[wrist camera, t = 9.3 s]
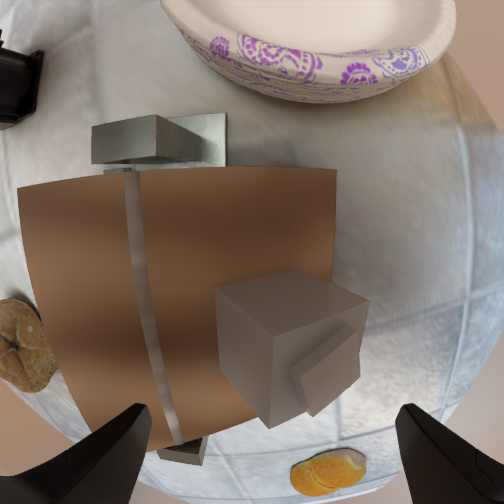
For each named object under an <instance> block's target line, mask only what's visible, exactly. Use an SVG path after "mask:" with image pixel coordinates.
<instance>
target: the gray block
mask: <svg viewBox="0 0 504 504" xmlns="http://www.w3.org/2000/svg"><path fill="white" fill-rule="evenodd" d="M214 287H215V305H216V321H217V335H218V349H219V362H220V370H221V371H222V372H223V374H224V375H225V376H226V378H227V379H228V380H229V381H230V383H231V384H232V385H233V387H234V388H235V389H236V390H237V392H238V393H239V394H240V395H241V397H242V398H243V399H244V400H245V402H246V403H247V404H248V405H249V406H250V408H251V409H252V410H253V411H254V412H255V414H256V415H257V416H258V417H259V418H260V420H261V421H262V422H263V423H264V424H265V425H266V427H267V428H268V429H271V428H273V427H275V426H277V425H280V424H282V423H284V422H286V421H288V420H290V419H292V418H294V417H296V416H298V415H300V414H302V413H304V412H307V413H308V414H309V415H311V416H312V417H314V416H315V415H316V414H317V413H319V412H320V411H321V410H322V409H324V408H325V407H326V406H327V405H329V404H330V403H331V402H332V401H333V400H335V399H336V398H337V397H338V396H339V395H340V394H342V393H343V392H344V391H345V390H346V389H347V388H349V387H351V385H352V384H353V383H354V382H355V381H356V380H357V379H358V378H359V377H360V361H359V351H360V347H361V342H362V337H363V333H364V328H365V322H366V317H367V312H368V306H369V300H367V299H365V298H363V297H361V296H358V295H356V294H354V293H352V292H350V291H347V290H345V289H343V288H341V287H339V286H336V285H334V284H332V283H330V282H327V281H325V280H323V279H321V278H319V277H316V276H314V275H312V274H310V273H307V272H305V271H303V270H301V269H295V270H291V271H286V272H281V273H277V274H272V275H267V276H262V277H258V278H253V279H248V280H243V281H238V282H233V283H228V284H223V285H218V286H214Z"/></svg>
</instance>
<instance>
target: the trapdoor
mask: <svg viewBox="0 0 504 504" xmlns="http://www.w3.org/2000/svg"><path fill="white" fill-rule="evenodd" d="M336 177H337V170H333V169H318V168H297V167H256V166H234V167H193V168H173V169H157V170H144V171H131V172H122V173H112V174H103V175H95V176H87V177H80V178H73V179H66V180H60V181H54V182H48V183H42V184H36V185H31V186H26V187H21V188H17V194H18V207H19V217H20V225H21V233H22V239H23V246H24V251H25V257H26V262H27V267H28V272H29V276H30V280H31V285H32V289H33V293H34V296H35V300H36V304H37V307H38V311H39V314H40V317H41V320H42V323H43V326H44V329H45V332H46V335H47V338H48V341H49V344H50V346H51V349H52V352H53V354H54V357H55V359H56V362H57V364H58V367H59V369H60V371H61V374H62V376H63V378H64V380H65V382H66V385H67V387H68V389H69V391H70V393H71V395H72V397H73V399H74V401H75V403H76V405H77V407H78V409H79V411H80V413H81V415H82V416H83V418H84V420H85V422H86V424H87V425H88V427H89V429H90V430H91V432H92V433H93V432H94V431H96V430H97V429H99V428H100V427H102V426H103V425H104V424H106V423H107V422H109V421H110V420H112V419H113V418H115V417H116V416H117V415H119V414H120V413H122V412H123V411H124V410H126V409H127V408H129V407H130V406H131V405H133V404H134V403H142V404H146V405H147V406H148V409H149V412H150V415H151V417H152V427H151V431H150V436H149V440H148V445H147V449H146V452H149V451H154V450H158V449H162V448H166V447H170V446H174V445H182V444H183V443H185V442H188V441H191V440H195V439H198V438H201V437H204V436H207V435H210V434H213V433H216V432H219V431H222V430H225V429H228V428H231V427H233V426H236V425H239V424H241V423H244V422H246V421H249V420H251V419H254V418H256V417H258V416H257V415H256V414H255V412H254V411H253V410H252V409H251V408H250V406H249V405H248V404H247V403H246V402H245V400H244V399H243V398H242V397H241V395H240V394H239V393H238V392H237V390H236V389H235V388H234V387H233V385H232V384H231V383H230V381H229V380H228V379H227V378H226V376H225V375H224V374H223V372H222V371H221V370H220V362H219V349H218V335H217V321H216V305H215V287H214V286H218V285H223V284H228V283H233V282H238V281H243V280H248V279H253V278H258V277H262V276H267V275H272V274H277V273H281V272H286V271H291V270H295V269H301V270H303V271H305V272H307V273H310V274H312V275H314V276H316V277H319V278H321V279H323V280H325V281H327V282H330V283H331V275H332V263H333V249H334V233H335V213H336Z"/></svg>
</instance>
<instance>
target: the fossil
mask: <svg viewBox="0 0 504 504" xmlns="http://www.w3.org/2000/svg"><path fill="white" fill-rule="evenodd" d="M57 369H58V364H57V362H56V359H55V357H54V354H53V352H52V349H51V346H50V344H49V341H48V338H47V335H46V332H45V329H44V326H43V323H42V322H41V321H40V319H39V318H38V316H37V314H36V313H35V311H34V310H33V309H32V308H31V307H29V306H28V304H26V303H25V302H22V301H20V300H16V299H13V298H8V299H3V300H0V377H1V378H2V379H4V380H6V381H8V382H10V383H12V384H13V385H14V386H15V387H16V388H17V389H19V390H20V391H22V392H26V393H36V392H39V391H41V390H43V389H44V388H45V387H46V386H47V385H48V383H49V381H50V379H51V377H52V376H53V375H54V373H55V372H56V370H57Z"/></svg>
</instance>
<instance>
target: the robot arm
mask: <svg viewBox="0 0 504 504" xmlns="http://www.w3.org/2000/svg"><path fill="white" fill-rule="evenodd" d="M1 33H2V30H1V29H0V38H1ZM3 43H4V41H2V40H0V130H4V129H6V128H8V127H11V126H13V125H15V124H16V123H17V122H18V120H20V119H23V118H25V117H27V116H29V115H31V114H33V112H34V111H35V105H36V96H37V88H38V81H39V75H40V69H41V64H42V59H43V54H44V52H43V51H42V50H38V51H36V52H34V53H33V54H31V55H29V56H27V55H24V54H21V53H18V52H15V51H12V50H8V49H5V48H2V47H1V46H2V44H3ZM30 108H31V109H30ZM395 426H396V431H397V437H398V443H399V449H400V455H401V460H402V464H403V467H404V471H405V474H406V478H407V482H408V486H409V490H410V494H411V498H412V502H413V504H504V465H503V464H501V463H499V462H497V461H496V460H494V459H492V458H490V457H489V456H487V455H486V454H484V453H483V452H481V451H480V450H478V449H476V448H475V447H474V446H472V445H471V444H469V443H468V442H467V441H465V440H464V439H462V438H461V437H460V436H458V435H457V434H455V433H454V432H453V431H451V430H450V429H448V428H447V427H446V426H444V425H443V424H441V423H440V422H439V421H437V420H436V419H434V418H433V417H432V416H430V415H429V414H428V413H426V412H425V411H423V410H422V409H421V408H419V407H418V406H417V405H415V404H414V403H409V404H404V405H403V406H402V407H401V409H400V411H399V413H398V415H397V417H396V420H395ZM151 427H152V417H151V415H150V412H149V409H148V406H147V405H146V404H142V403H134V404H133V405H131V406H130V407H129V408H127V409H126V410H124V411H123V412H122V413H120V414H119V415H117V416H116V417H115V418H113V419H112V420H110V421H109V422H107V423H106V424H104V425H103V426H102V427H100V428H99V429H97V430H96V431H94V432H93V433H91V434H90V435H88V436H87V437H85V438H84V439H82V440H81V441H79V442H78V443H76V444H75V445H73V446H72V447H70V448H69V449H68V450H65V451H64V452H62V453H61V454H59V455H57V456H56V457H54V458H52V459H51V460H49V461H47V462H45V463H43V464H41V465H38V466H36V467H34V468H32V469H29V470H27V471H25V472H23V473H20V474H17V475H14V476H0V504H128V503H129V500H130V498H131V495H132V492H133V489H134V486H135V483H136V480H137V478H138V475H139V472H140V469H141V466H142V464H143V461H144V457H145V454H146V449H147V445H148V440H149V436H150V431H151Z"/></svg>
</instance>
